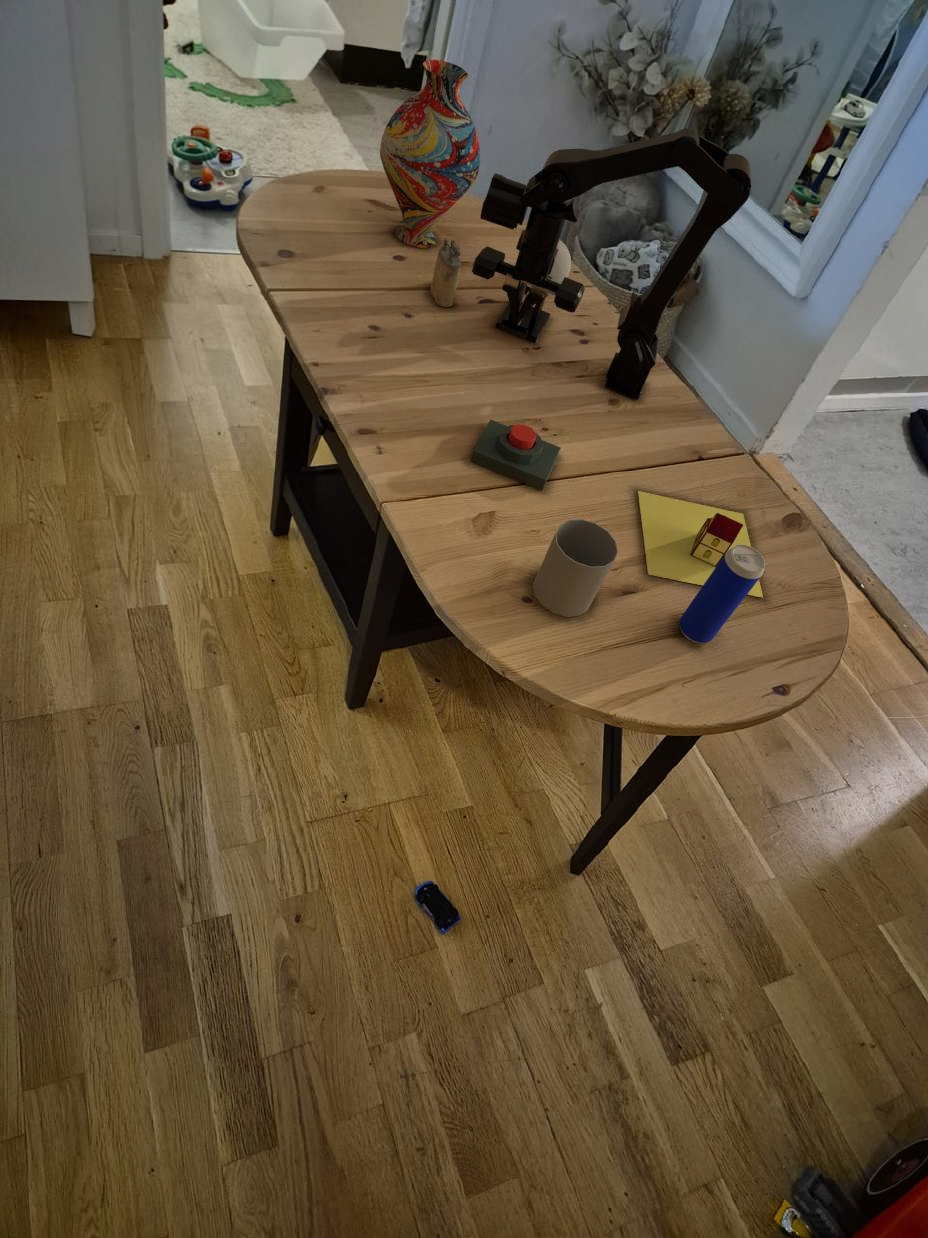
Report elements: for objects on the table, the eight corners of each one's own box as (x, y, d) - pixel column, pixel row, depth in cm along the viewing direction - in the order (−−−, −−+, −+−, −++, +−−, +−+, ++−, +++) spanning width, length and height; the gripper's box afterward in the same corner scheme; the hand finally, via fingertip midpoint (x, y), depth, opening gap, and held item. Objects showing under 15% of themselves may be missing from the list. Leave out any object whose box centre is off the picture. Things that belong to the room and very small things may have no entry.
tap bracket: (535, 343, 147) (550, 297, 140) (495, 327, 147) (508, 280, 140) (548, 319, 153) (563, 273, 146) (510, 303, 154) (523, 257, 146)
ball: (518, 297, 156) (532, 248, 148) (510, 270, 162) (523, 222, 154) (566, 304, 158) (582, 256, 151) (556, 277, 164) (572, 230, 157)
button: (535, 439, 123) (539, 430, 122) (529, 453, 120) (532, 444, 119) (512, 429, 123) (515, 420, 122) (504, 444, 121) (507, 434, 119)
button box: (556, 457, 127) (564, 438, 124) (542, 491, 121) (550, 471, 118) (487, 429, 128) (493, 409, 125) (469, 461, 122) (475, 441, 119)
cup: (543, 618, 105) (567, 568, 98) (524, 571, 110) (546, 520, 102) (600, 613, 108) (627, 565, 100) (579, 568, 113) (604, 518, 105)
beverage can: (707, 618, 112) (761, 545, 101) (716, 647, 109) (772, 576, 98) (674, 613, 111) (724, 540, 100) (681, 643, 108) (734, 571, 97)
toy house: (691, 563, 119) (716, 525, 112) (685, 532, 123) (709, 493, 117) (727, 571, 119) (754, 533, 113) (720, 539, 124) (746, 501, 117)
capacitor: (455, 308, 148) (467, 256, 141) (435, 307, 147) (446, 255, 139) (445, 286, 152) (456, 235, 145) (426, 285, 151) (436, 233, 143)
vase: (360, 209, 164) (380, 39, 141) (446, 216, 170) (479, 55, 147) (382, 259, 153) (407, 84, 130) (473, 264, 160) (512, 99, 137)
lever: (524, 340, 142) (526, 332, 140) (498, 330, 143) (500, 321, 140) (548, 290, 146) (550, 281, 144) (522, 280, 146) (524, 270, 144)
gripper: (604, 239, 134) (574, 322, 146) (502, 199, 135) (480, 285, 146) (590, 266, 127) (560, 351, 138) (482, 224, 127) (461, 312, 139)
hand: (515, 324), depth 141 cm, fingers closed
